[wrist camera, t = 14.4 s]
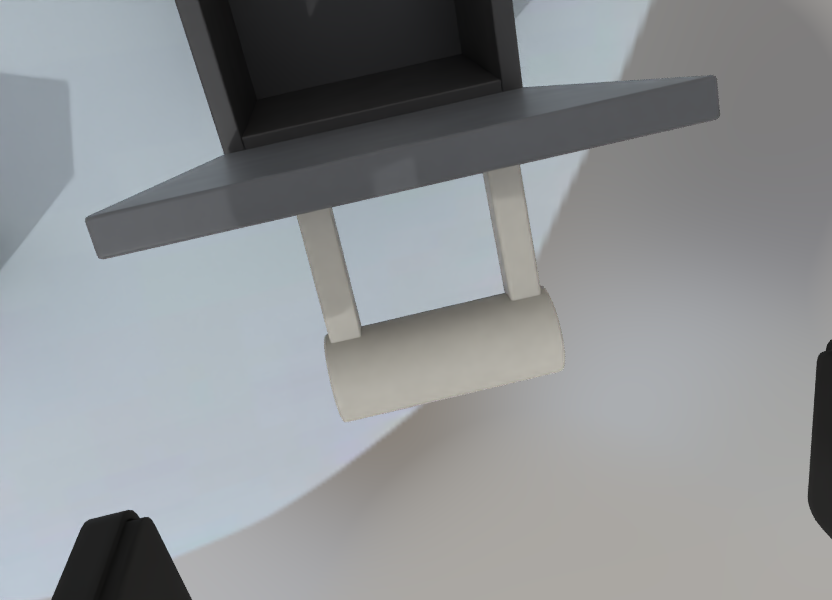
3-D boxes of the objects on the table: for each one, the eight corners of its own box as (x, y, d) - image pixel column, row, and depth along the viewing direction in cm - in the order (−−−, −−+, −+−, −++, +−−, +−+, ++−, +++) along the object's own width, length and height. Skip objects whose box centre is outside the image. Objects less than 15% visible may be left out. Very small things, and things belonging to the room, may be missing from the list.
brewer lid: (82, 218, 12) (182, 500, 14) (718, 74, 13) (743, 366, 14) (222, 155, 26) (264, 301, 28) (525, 86, 26) (549, 235, 28)
